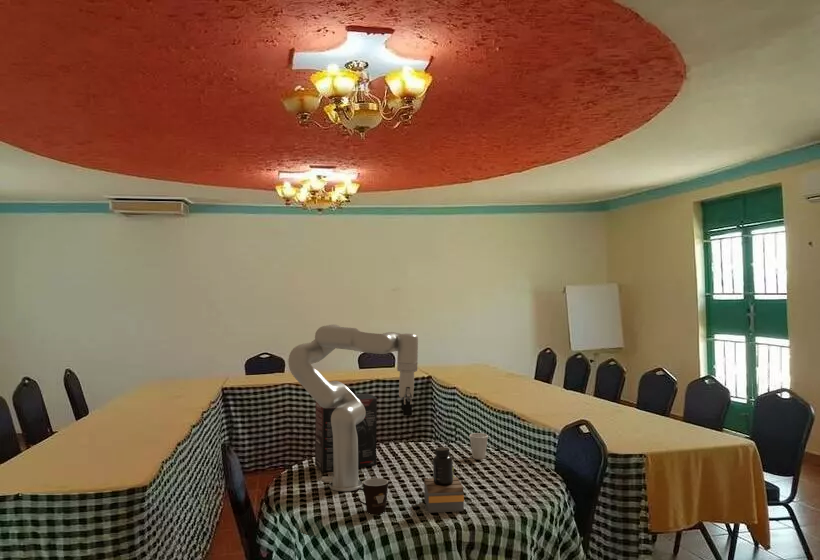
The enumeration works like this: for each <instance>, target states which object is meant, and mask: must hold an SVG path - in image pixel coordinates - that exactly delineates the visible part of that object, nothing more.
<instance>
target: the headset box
mask: <svg viewBox="0 0 820 560" xmlns="http://www.w3.org/2000/svg"><path fill="white" fill-rule="evenodd" d="M349 389H350V391H351V392H352V393H353V394H354V395H355V396H356V397H357V398H358V399H359V400H360V401H361V403H362V404H363V405H364V407H365V411H366V415H365V418H364V419H363V421H362V422H360V423H359V424H357V425H356V431H357V436H358V469H359V468H367V467H374V466H377V428H378V427H377V425H378V424H377V420H378V419H377V417H378V416H377V415H378V414H377V412H378V411H377V410H378V409H377V408H378V405H377V404H378V401H377V400H378V398H377V396H374V395H373V394H369V393H356V389H355V388H353V387H350V388H349ZM335 408H336V407H335V406H334V407H331V408H323V407H321V406H320V405H319V404H318V403H317V402H316V401H315V433H314V434H315V437H314V438H315V439H314V442H315V445H314V447H315V449H314V454H315V455H314V462H315V463H314V465H315V466H316V467H317V468H318V469H319V470H320V471H321V472H322V473H325V472H334V471H333V432H332V426H331V415H332V413H333V411H334V410H335Z"/></svg>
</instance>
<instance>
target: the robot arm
mask: <svg viewBox="0 0 820 560" xmlns="http://www.w3.org/2000/svg"><path fill="white" fill-rule="evenodd" d="M314 334H315V335H314V339H313V340H312V341H311V342H306V343H302V344H298V345H296V346H295V347H293V348H292V349H291V351H290V352H289V354H288V362H287V364H288V368H289V372H290V373H291V375H292V376H293V378H294V379H295V380H296V381H297V382H298V383H299V384H300V385H301V386H302V387H303V389H305V391H306V392H307V393H308V394H309V395H310V396H311V398H313V399H314V401H315V403H316V402H317V403H318V404H319V405H320V406H321V407H323V408H331V407H334V406H335V407H336V408H335V410H334V411H333V413H332V415H331V426H332V432H333V471H332V472H333V473H332V475H331V474H330V476H326V475H325V476H321V482H324V483H326V484H327V483H329V489H330V490H332V491H335V492H352V491H355V490H357V489H358V488H363V481H362V480H361V479H360V480H359V468H358V436H357V431H356V425H357V424H359V423H360V422H362V421H363V419H364V418H365V415H366V411H365V407H364V405H363V404H362V403H361V401H360V400H359V399H358V398H357V397H356V396H355V395H354V394H353V393H352V392H351V391H350V389H351V388H349V387H348V386H347V385H346V384H344V383H343V382H341V381H338V380H331V381H329V380H328V379H327V378H326V377H325V376H324V375H323V374H322V373H321V372H320V371H319V370H317V369H316V368H315V367H314V366H313V364H316V363H318V362H319V363H320V361H323V359H325V358H326V357H327V356H329V354H330V353H332V352H333V351H334V350H335V349H336V350H338V349H340V350H347V351H348V350H349V351H354V352H360V353H367V354H375V355H377V354H378V355H386V354H390V353H392V352H393V353H394V352H397V364H396V365H397V367H396V368H397V369H396V370H397V372H399V382H398V384H399V385H398V387H399V388H398V395H399V398H400V399H401V409H400V410H401V411H402V415H403V417H404V416H405V417H409V416H412V415H413V404H412V403H413V402H412V399H414V393H415V392H414V389H415V373H417V372H418V364H419V363H418V357H419V355H418V354H419V350H418V349H419V346H418V345H419V337H418V335H417V334H416V333H399V332H393V331H388V332H382V333H373V332H364V331H360V330H359V329H358V328H356V327H344V326H340V325H338V324H327V325H322V326H320V327H318V329H316V331H315V333H314Z"/></svg>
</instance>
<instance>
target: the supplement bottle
mask: <svg viewBox="0 0 820 560" xmlns="http://www.w3.org/2000/svg"><path fill="white" fill-rule="evenodd" d="M453 463H454V462H453V457H452V456H451V455H450V448H449V447H446V446H441V447H436V448H435V455H434V457H433V458H432V467H433V468H432V470H433V478H434V483H435V484H436V485H440V486H446V485H450V484H452V483H453V476H454V471H453V468H454V465H453Z"/></svg>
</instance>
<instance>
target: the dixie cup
mask: <svg viewBox="0 0 820 560" xmlns="http://www.w3.org/2000/svg"><path fill="white" fill-rule="evenodd" d="M488 438H489V434H487V433H483V432H474V433H470V434H469V441H470V447H471V448H470V449H471V455H472V458H473V459H474V460H484V459H486V457H487V455H486V454H487V445H488Z"/></svg>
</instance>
